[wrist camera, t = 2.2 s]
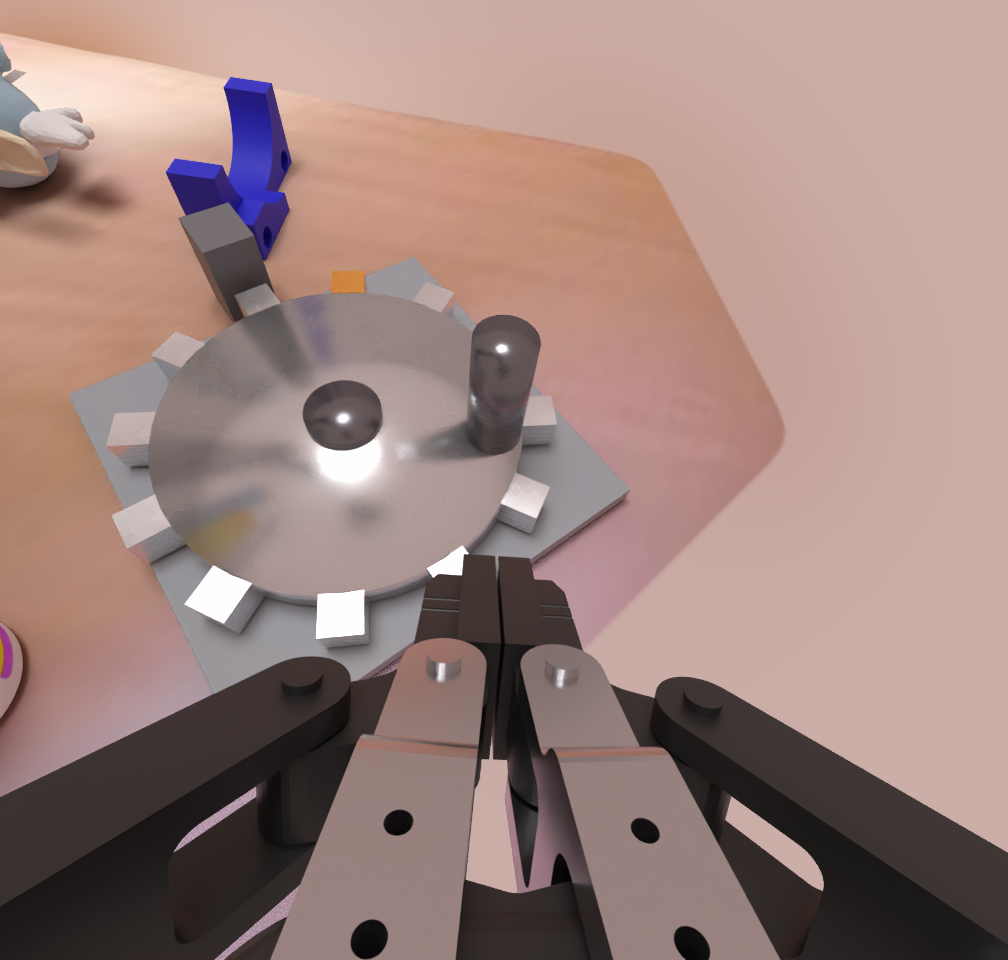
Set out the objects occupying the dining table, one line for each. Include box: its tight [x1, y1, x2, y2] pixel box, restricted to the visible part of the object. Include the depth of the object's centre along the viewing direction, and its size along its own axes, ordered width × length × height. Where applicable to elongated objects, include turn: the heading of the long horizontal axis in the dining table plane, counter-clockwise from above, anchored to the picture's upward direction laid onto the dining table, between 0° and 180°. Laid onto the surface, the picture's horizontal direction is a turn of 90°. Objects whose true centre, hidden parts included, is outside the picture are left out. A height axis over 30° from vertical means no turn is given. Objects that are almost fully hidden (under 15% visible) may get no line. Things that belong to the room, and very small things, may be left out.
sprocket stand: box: [68, 203, 630, 694], centre depth 30 cm, size 28×23×6 cm
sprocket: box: [106, 271, 557, 648], centre depth 27 cm, size 23×23×9 cm
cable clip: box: [166, 77, 292, 261], centre depth 39 cm, size 12×4×6 cm, turn 175°
